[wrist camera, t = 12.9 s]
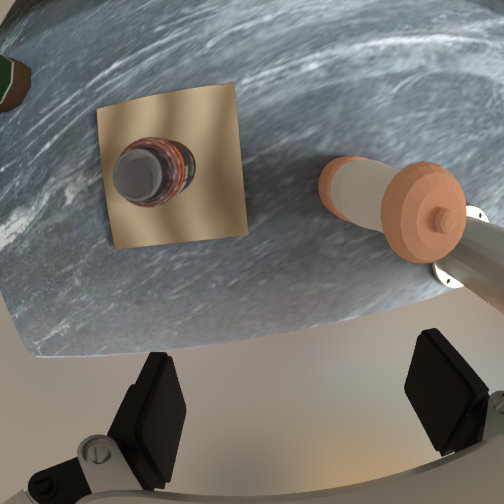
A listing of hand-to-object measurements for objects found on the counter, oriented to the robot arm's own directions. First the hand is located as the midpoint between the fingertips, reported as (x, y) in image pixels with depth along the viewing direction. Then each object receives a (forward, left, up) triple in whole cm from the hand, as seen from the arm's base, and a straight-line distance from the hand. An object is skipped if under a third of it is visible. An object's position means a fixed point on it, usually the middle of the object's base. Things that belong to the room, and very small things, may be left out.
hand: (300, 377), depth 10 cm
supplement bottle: (+9, -8, -24) cm, 27 cm away
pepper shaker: (-11, -4, -26) cm, 28 cm away
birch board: (+9, -8, -25) cm, 28 cm away
